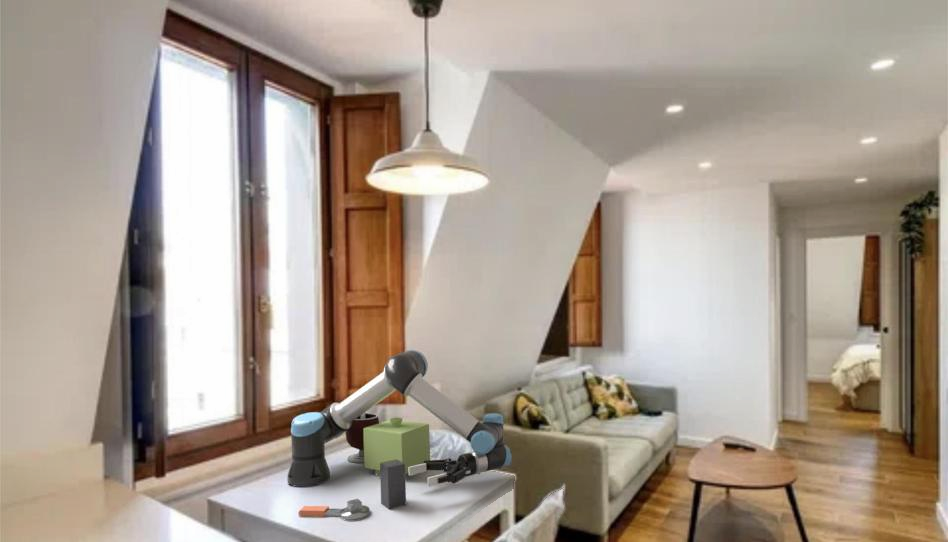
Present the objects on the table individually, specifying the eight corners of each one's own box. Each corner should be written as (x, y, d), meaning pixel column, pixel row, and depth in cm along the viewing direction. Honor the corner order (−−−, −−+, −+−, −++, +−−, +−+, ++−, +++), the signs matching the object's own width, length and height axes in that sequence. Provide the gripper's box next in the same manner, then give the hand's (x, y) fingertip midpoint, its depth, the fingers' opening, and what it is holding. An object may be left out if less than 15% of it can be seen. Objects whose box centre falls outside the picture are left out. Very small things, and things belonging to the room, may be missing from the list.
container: (364, 473, 206) (362, 420, 207) (393, 461, 220) (391, 411, 221) (402, 482, 196) (401, 425, 197) (430, 468, 209) (429, 416, 210)
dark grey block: (388, 509, 171) (387, 467, 172) (381, 503, 176) (379, 462, 177) (406, 504, 174) (404, 463, 175) (398, 499, 179) (396, 459, 180)
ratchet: (373, 509, 172) (373, 496, 172) (364, 521, 163) (363, 507, 163) (306, 508, 175) (306, 495, 175) (294, 520, 166) (293, 506, 166)
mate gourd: (379, 462, 219) (378, 411, 221) (343, 464, 217) (343, 413, 219) (380, 451, 235) (379, 404, 236) (347, 453, 233) (347, 406, 234)
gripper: (492, 484, 182) (437, 499, 170) (453, 465, 202) (401, 477, 191) (491, 461, 182) (436, 474, 170) (453, 445, 203) (401, 456, 191)
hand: (418, 476), depth 180 cm, fingers open, 13 cm apart
